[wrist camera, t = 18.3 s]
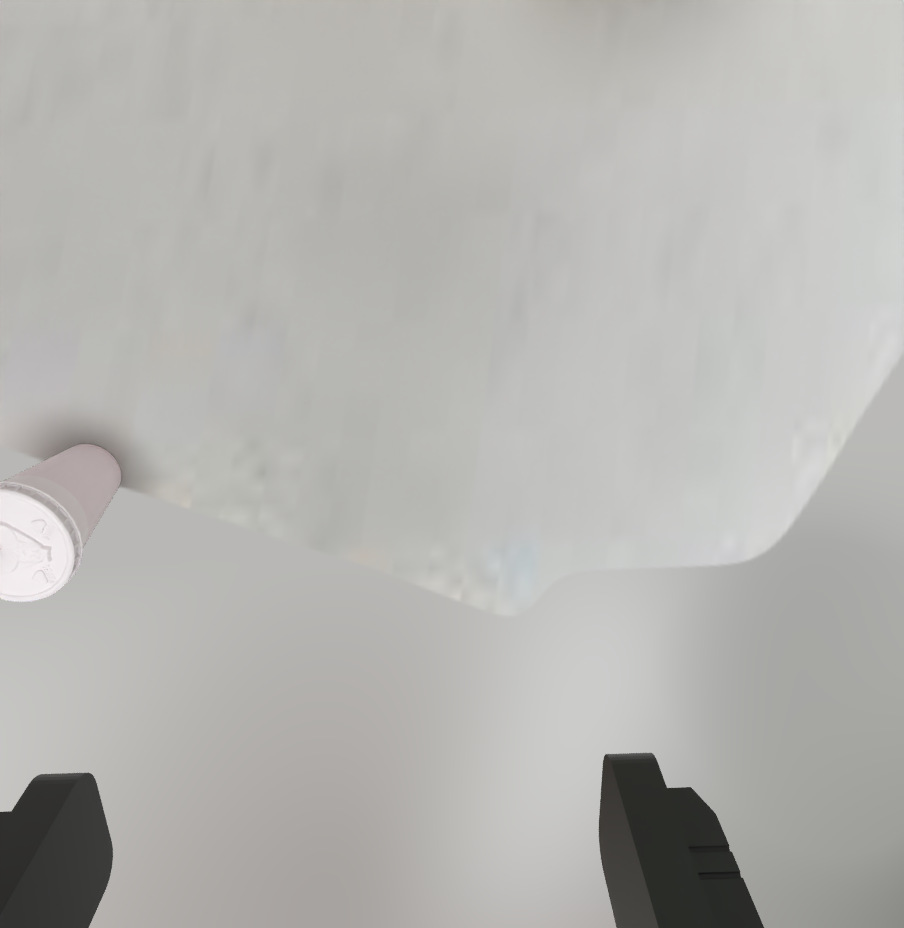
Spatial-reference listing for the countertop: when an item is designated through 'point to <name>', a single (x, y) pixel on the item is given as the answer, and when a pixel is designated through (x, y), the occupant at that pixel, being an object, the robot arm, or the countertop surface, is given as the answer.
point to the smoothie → (52, 519)
